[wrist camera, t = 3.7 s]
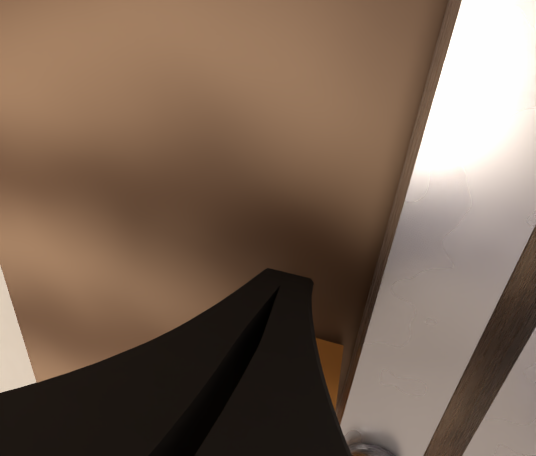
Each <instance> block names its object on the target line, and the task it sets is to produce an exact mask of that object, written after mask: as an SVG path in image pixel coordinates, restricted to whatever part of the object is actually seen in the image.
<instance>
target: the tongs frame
mask: <svg viewBox="0 0 536 456" xmlns="http://www.w3.org/2000/svg"><path fill="white" fill-rule="evenodd" d="M424 456H536V228H535V230H534V232H533V234H532V236H531V238H530V240H529V242H528V244H527V246H526V248H525V250H524V252H523V254H522V256H521V258H520V260H519V262H518V264H517V266H516V268H515V271H514V273H513V275H512V277H511V279H510V281H509V283H508V285H507V287H506V289H505V291H504V293H503V295H502V297H501V299H500V301H499V303H498V305H497V307H496V309H495V311H494V313H493V316H492V318H491V320H490V322H489V324H488V326H487V328H486V330H485V332H484V334H483V336H482V338H481V340H480V342H479V344H478V346H477V348H476V350H475V352H474V354H473V356H472V358H471V361H470V363H469V365H468V367H467V369H466V371H465V373H464V375H463V377H462V379H461V381H460V383H459V385H458V387H457V389H456V391H455V393H454V395H453V397H452V399H451V401H450V404H449V406H448V408H447V410H446V412H445V414H444V416H443V418H442V420H441V422H440V424H439V426H438V428H437V430H436V432H435V434H434V436H433V438H432V440H431V442H430V444H429V446H428V449H427V451H426V453H425V455H424Z"/></svg>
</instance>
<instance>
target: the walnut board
mask: <svg viewBox="0 0 536 456" xmlns="http://www.w3.org/2000/svg"><path fill="white" fill-rule="evenodd" d="M447 3H448V0H0V265H1V268H2V271H3V274H4V278H5V281H6V284H7V287H8V291H9V294H10V297H11V300H12V304H13V307H14V310H15V313H16V317H17V320H18V323H19V326H20V330H21V333H22V336H23V339H24V343H25V346H26V349H27V352H28V356H29V359H30V362H31V365H32V369H33V372H34V375H35V378H36V382H41V381H44V380H47V379H50V378H53V377H56V376H59V375H63V374H66V373H69V372H72V371H74V370H77V369H80V368H83V367H86V366H89V365H92V364H94V363H97V362H100V361H102V360H105V359H107V358H110V357H112V356H114V355H117V354H119V353H122V352H124V351H127V350H129V349H132V348H134V347H137V346H139V345H141V344H144V343H146V342H148V341H150V340H152V339H155V338H157V337H159V336H161V335H163V334H165V333H167V332H169V331H171V330H173V329H175V328H176V327H178V326H180V325H182V324H184V323H186V322H187V321H189V320H191V319H192V318H194V317H196V316H197V315H199V314H201V313H202V312H204V311H206V310H207V309H209V308H211V307H212V306H214V305H215V304H217V303H218V302H220V301H221V300H223V299H224V298H226V297H227V296H229V295H230V294H232V293H233V292H235V291H236V290H237V289H239V288H240V287H242V286H243V285H244V284H246V283H247V282H248V281H250V280H251V279H252V278H254V277H255V276H256V275H258V274H259V273H260V272H262V271H263V270H265V269H267V268H270V269H275V270H279V271H283V272H287V273H291V274H295V275H299V276H303V277H307V278H311V280H312V281H313V282H314V285H313V291H312V316H313V324H314V331H315V337H316V338H318V339H322V340H326V341H329V342H333V343H336V344H340V345H343V346H344V347H343V355H342V363H341V371H340V378H339V386H338V394H337V402H336V410H335V412H337V408H338V405H339V401H340V397H341V393H342V390H343V386H344V382H345V379H346V375H347V371H348V368H349V364H350V360H351V357H352V353H353V349H354V346H355V342H356V338H357V335H358V331H359V327H360V324H361V320H362V316H363V312H364V309H365V305H366V301H367V298H368V294H369V290H370V287H371V283H372V279H373V276H374V272H375V268H376V265H377V261H378V257H379V254H380V250H381V246H382V243H383V239H384V235H385V231H386V228H387V224H388V220H389V217H390V213H391V209H392V206H393V202H394V198H395V195H396V191H397V187H398V184H399V180H400V176H401V173H402V169H403V165H404V162H405V158H406V154H407V150H408V147H409V143H410V139H411V136H412V132H413V128H414V125H415V121H416V117H417V114H418V110H419V106H420V103H421V99H422V95H423V92H424V88H425V84H426V81H427V77H428V73H429V69H430V66H431V62H432V58H433V55H434V51H435V47H436V44H437V40H438V36H439V33H440V29H441V25H442V22H443V18H444V14H445V11H446V7H447ZM535 228H536V225H535V227H534V229H533V231H532V233H531V235H530V237H529V239H528V242H529V240H530V238H531V236H532V234H533V232H534V230H535ZM528 242H527V244H528ZM527 244H526V246H527ZM526 246H525V248H526ZM525 248H524V250H525ZM524 250H523V252H524ZM523 252H522V254H523ZM522 254H521V256H522ZM521 256H520V258H521ZM520 258H519V260H520ZM519 260H518V262H519ZM518 262H517V264H518ZM517 264H516V266H517ZM516 266H515V268H516ZM515 268H514V270H513V272H512V274H511V276H510V278H509V281H510V279H511V277H512V275H513V273H514V271H515ZM509 281H508V283H509ZM508 283H507V285H508ZM507 285H506V287H507ZM506 287H505V289H506ZM505 289H504V291H505ZM504 291H503V293H504ZM503 293H502V295H503ZM502 295H501V297H502ZM501 297H500V299H501ZM500 299H499V301H500ZM499 301H498V303H499ZM498 303H497V305H498ZM497 305H496V307H497ZM496 307H495V309H496ZM495 309H494V311H495ZM494 311H493V313H494ZM493 313H492V315H491V317H490V320H491V318H492V316H493ZM490 320H489V322H490ZM489 322H488V324H489ZM488 324H487V326H488ZM487 326H486V328H487ZM486 328H485V330H486ZM485 330H484V332H485ZM484 332H483V334H484ZM483 334H482V336H483ZM482 336H481V338H482ZM481 338H480V340H481ZM480 340H479V342H480ZM479 342H478V344H479ZM478 344H477V346H478ZM477 346H476V348H477ZM476 348H475V350H476ZM475 350H474V352H475ZM474 352H473V354H474ZM473 354H472V356H473ZM472 356H471V358H472ZM470 361H471V359H470ZM470 361H469V363H470ZM469 363H468V365H469ZM468 365H467V367H468ZM467 367H466V369H467ZM466 369H465V371H466ZM465 371H464V373H465ZM464 373H463V375H464ZM463 375H462V377H463ZM462 377H461V379H462ZM461 379H460V381H461ZM460 381H459V383H460ZM459 383H458V385H459ZM458 385H457V387H458ZM457 387H456V389H457ZM456 389H455V391H456ZM455 391H454V393H455ZM454 393H453V395H454ZM452 397H453V396H452ZM451 399H452V398H451ZM450 401H451V400H450ZM449 404H450V402H449ZM449 404H448V406H449ZM448 406H447V408H448ZM447 408H446V410H447ZM446 410H445V412H446ZM445 412H444V414H445ZM444 414H443V416H444ZM443 416H442V418H443ZM442 418H441V420H442ZM441 420H440V422H441ZM440 422H439V424H440ZM439 424H438V426H439ZM438 426H437V428H438ZM437 428H436V430H437ZM436 430H435V432H436ZM435 432H434V434H435ZM433 436H434V435H433ZM432 438H433V437H432ZM431 440H432V439H431ZM430 442H431V441H430ZM429 444H430V443H429ZM428 446H429V445H428ZM427 449H428V447H427ZM427 449H426V451H427ZM426 451H425V453H426ZM425 453H424V455H425ZM424 455H423V456H424Z"/></svg>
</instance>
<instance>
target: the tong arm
mask: <svg viewBox="0 0 536 456" xmlns="http://www.w3.org/2000/svg"><path fill="white" fill-rule="evenodd" d="M535 225H536V0H448V3H447V7H446V11H445V14H444V18H443V22H442V25H441V29H440V33H439V36H438V40H437V44H436V47H435V51H434V55H433V58H432V62H431V66H430V69H429V73H428V77H427V81H426V84H425V88H424V92H423V95H422V99H421V103H420V106H419V110H418V114H417V117H416V121H415V125H414V128H413V132H412V136H411V139H410V143H409V147H408V150H407V154H406V158H405V162H404V165H403V169H402V173H401V176H400V180H399V184H398V187H397V191H396V195H395V198H394V202H393V206H392V209H391V213H390V217H389V220H388V224H387V228H386V231H385V235H384V239H383V243H382V246H381V250H380V254H379V257H378V261H377V265H376V268H375V272H374V276H373V279H372V283H371V287H370V290H369V294H368V298H367V301H366V305H365V309H364V312H363V316H362V320H361V324H360V327H359V331H358V335H357V338H356V342H355V346H354V349H353V353H352V357H351V360H350V364H349V368H348V371H347V375H346V379H345V382H344V386H343V390H342V393H341V397H340V401H339V405H338V408H337V412H336V415H337V418H338V421H339V424H340V427H341V429H342V432H343V435H344V437H345V440H346V442H347V444H348V447H349V449H350V452H351V454H352V456H423V455H424V453H425V451H426V449H427V447H428V445H429V443H430V441H431V439H432V437H433V435H434V432H435V430H436V428H437V426H438V424H439V422H440V420H441V418H442V416H443V414H444V412H445V410H446V408H447V406H448V404H449V402H450V400H451V398H452V396H453V393H454V391H455V389H456V387H457V385H458V383H459V381H460V379H461V377H462V375H463V373H464V371H465V369H466V367H467V365H468V363H469V361H470V359H471V356H472V354H473V352H474V350H475V348H476V346H477V344H478V342H479V340H480V338H481V336H482V334H483V332H484V330H485V328H486V326H487V324H488V322H489V320H490V317H491V315H492V313H493V311H494V309H495V307H496V305H497V303H498V301H499V299H500V297H501V295H502V293H503V291H504V289H505V287H506V285H507V283H508V281H509V278H510V276H511V274H512V272H513V270H514V268H515V266H516V264H517V262H518V260H519V258H520V256H521V254H522V252H523V250H524V248H525V246H526V244H527V242H528V239H529V237H530V235H531V233H532V231H533V229H534V227H535Z"/></svg>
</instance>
